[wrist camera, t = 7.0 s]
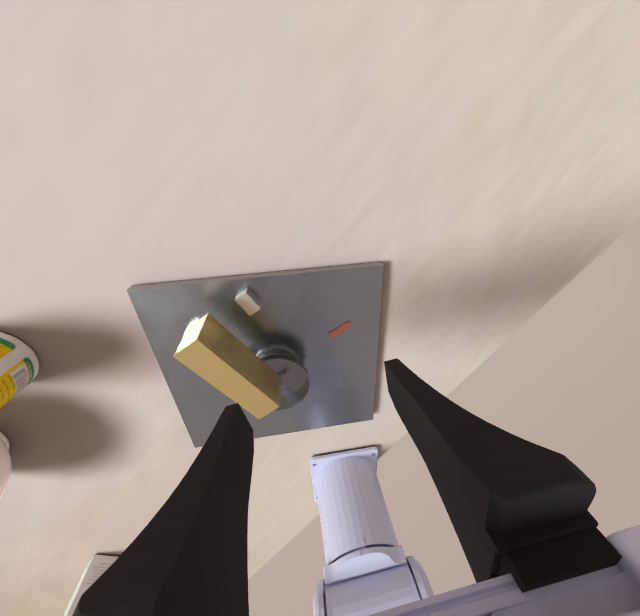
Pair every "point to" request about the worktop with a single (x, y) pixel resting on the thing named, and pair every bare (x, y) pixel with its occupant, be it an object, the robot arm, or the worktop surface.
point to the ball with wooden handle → (242, 369)
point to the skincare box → (90, 578)
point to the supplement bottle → (15, 367)
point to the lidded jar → (4, 463)
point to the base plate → (275, 340)
